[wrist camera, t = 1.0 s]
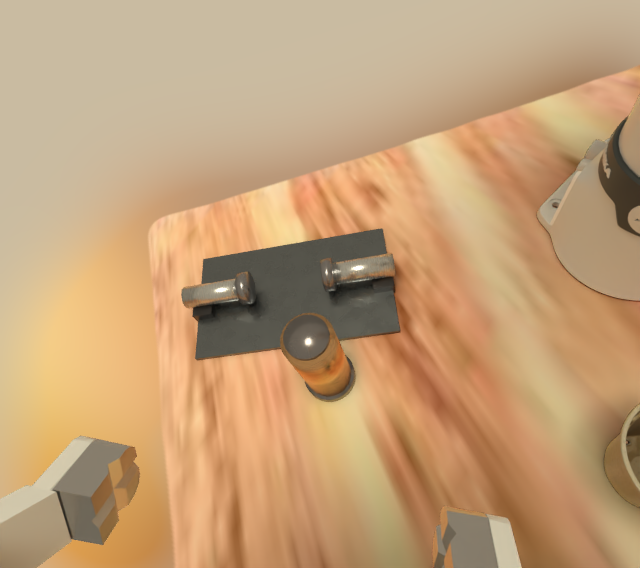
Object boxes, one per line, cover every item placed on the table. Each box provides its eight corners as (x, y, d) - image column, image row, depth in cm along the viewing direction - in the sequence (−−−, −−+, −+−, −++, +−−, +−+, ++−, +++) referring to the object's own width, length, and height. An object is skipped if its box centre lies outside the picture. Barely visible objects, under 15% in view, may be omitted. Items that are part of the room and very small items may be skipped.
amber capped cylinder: (325, 344, 48) (300, 297, 38) (364, 369, 46) (349, 326, 36) (296, 384, 47) (262, 345, 36) (336, 411, 44) (312, 379, 34)
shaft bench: (386, 230, 54) (383, 205, 50) (404, 331, 47) (403, 313, 43) (201, 261, 57) (184, 241, 53) (193, 360, 51) (172, 346, 46)
